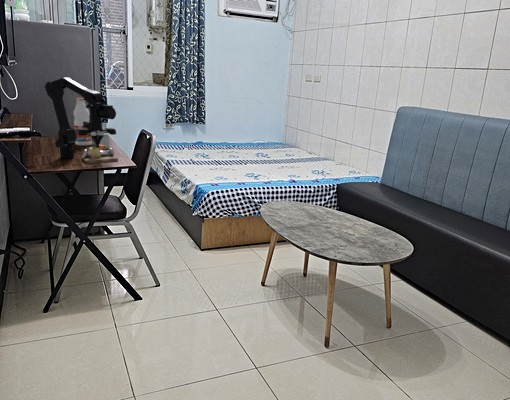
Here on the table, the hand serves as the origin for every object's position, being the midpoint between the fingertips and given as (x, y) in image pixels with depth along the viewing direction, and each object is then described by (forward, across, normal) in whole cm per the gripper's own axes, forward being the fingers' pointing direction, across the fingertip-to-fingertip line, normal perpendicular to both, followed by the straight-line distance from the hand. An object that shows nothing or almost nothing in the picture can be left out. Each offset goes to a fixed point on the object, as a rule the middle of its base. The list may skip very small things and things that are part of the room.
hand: (96, 148), depth 225 cm
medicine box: (+6, -14, -35) cm, 38 cm away
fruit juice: (+6, -9, -53) cm, 54 cm away
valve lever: (0, -2, -3) cm, 4 cm away
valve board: (+7, -3, -5) cm, 9 cm away
